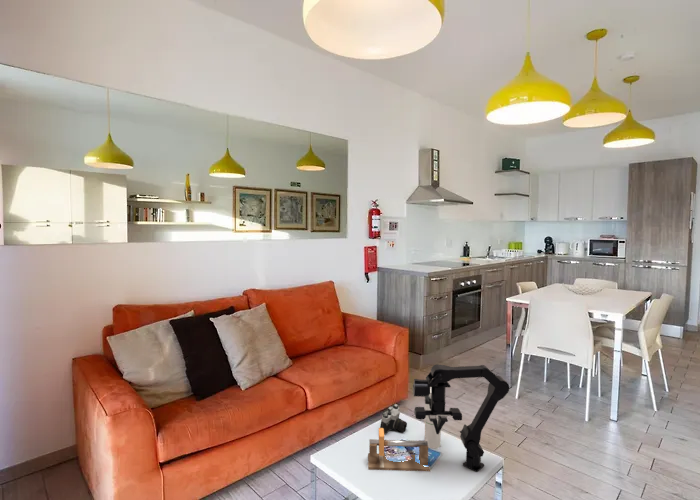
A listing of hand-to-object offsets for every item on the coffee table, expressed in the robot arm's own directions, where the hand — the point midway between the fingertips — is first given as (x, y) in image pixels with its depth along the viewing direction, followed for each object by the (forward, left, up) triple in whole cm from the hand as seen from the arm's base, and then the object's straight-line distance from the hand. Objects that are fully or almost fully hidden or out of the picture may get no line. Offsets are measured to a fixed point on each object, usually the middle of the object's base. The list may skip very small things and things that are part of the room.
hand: (437, 433), depth 159 cm
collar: (+16, -16, -8) cm, 25 cm away
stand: (+11, -11, -13) cm, 21 cm away
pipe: (+11, -11, -6) cm, 17 cm away
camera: (-9, -30, -13) cm, 34 cm away
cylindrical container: (-12, -10, -13) cm, 20 cm away
